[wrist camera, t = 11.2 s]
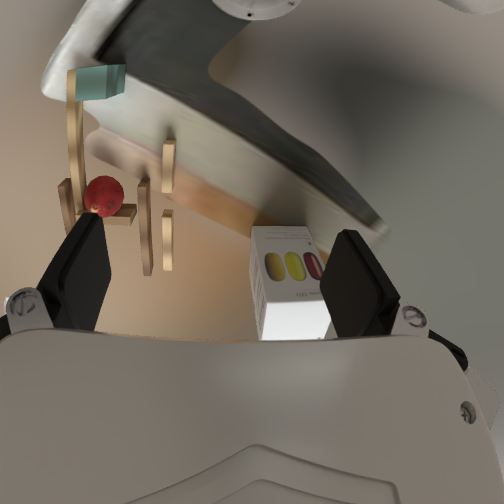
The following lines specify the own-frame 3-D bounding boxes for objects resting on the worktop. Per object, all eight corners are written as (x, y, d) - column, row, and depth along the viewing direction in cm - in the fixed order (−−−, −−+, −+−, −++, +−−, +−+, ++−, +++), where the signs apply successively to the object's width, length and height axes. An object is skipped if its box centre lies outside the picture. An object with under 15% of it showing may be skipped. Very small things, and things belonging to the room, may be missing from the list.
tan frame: (75, 69, 27) (50, 73, 22) (139, 63, 29) (123, 64, 24) (82, 210, 40) (65, 234, 35) (136, 212, 42) (125, 237, 37)
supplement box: (308, 225, 47) (342, 298, 34) (299, 268, 53) (325, 343, 39) (250, 225, 46) (265, 303, 33) (247, 269, 52) (259, 348, 38)
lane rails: (65, 178, 37) (57, 186, 35) (150, 178, 39) (145, 187, 37) (80, 259, 46) (75, 270, 44) (153, 264, 49) (150, 276, 46)
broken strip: (166, 139, 36) (163, 144, 34) (176, 140, 37) (173, 144, 35) (165, 261, 49) (163, 270, 47) (173, 261, 49) (172, 270, 47)
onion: (133, 175, 39) (118, 198, 32) (124, 207, 42) (109, 235, 35) (99, 163, 37) (78, 185, 30) (91, 196, 39) (71, 222, 33)
